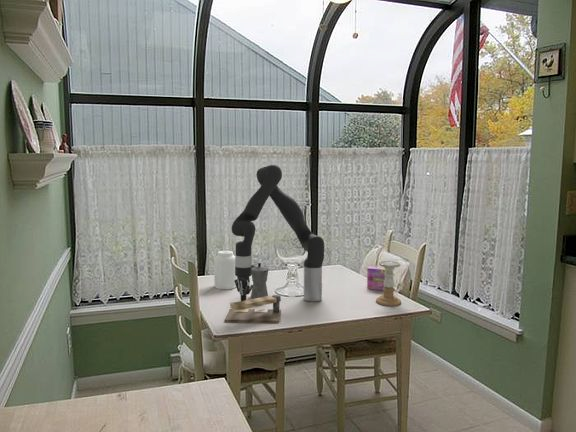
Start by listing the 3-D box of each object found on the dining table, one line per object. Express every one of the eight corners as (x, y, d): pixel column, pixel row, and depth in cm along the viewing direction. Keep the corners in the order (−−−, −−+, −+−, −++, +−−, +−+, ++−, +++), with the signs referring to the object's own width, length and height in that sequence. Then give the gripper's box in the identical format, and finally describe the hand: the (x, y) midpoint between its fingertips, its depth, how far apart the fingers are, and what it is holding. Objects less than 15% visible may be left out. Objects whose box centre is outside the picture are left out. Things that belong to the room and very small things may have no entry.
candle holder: (382, 307, 236) (384, 266, 233) (371, 299, 248) (372, 261, 245) (405, 305, 239) (407, 265, 237) (393, 298, 251) (395, 259, 248)
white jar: (237, 283, 276) (237, 249, 274) (236, 289, 264) (235, 253, 261) (215, 283, 276) (215, 249, 273) (213, 290, 263) (212, 253, 261)
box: (366, 288, 268) (367, 267, 266) (369, 286, 273) (369, 265, 271) (385, 290, 264) (386, 269, 262) (387, 288, 269) (388, 267, 268)
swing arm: (276, 298, 227) (276, 294, 227) (282, 301, 223) (282, 296, 223) (230, 307, 213) (230, 303, 213) (235, 310, 209) (235, 306, 209)
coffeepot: (274, 298, 248) (274, 264, 246) (258, 301, 243) (257, 266, 241) (258, 291, 261) (258, 258, 259) (243, 294, 256) (243, 260, 254)
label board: (280, 312, 228) (280, 299, 227) (279, 323, 213) (279, 309, 212) (230, 311, 229) (229, 298, 228) (224, 322, 214) (224, 308, 213)
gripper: (258, 267, 213) (258, 305, 216) (243, 261, 224) (243, 297, 226) (243, 269, 209) (243, 308, 211) (228, 263, 220) (229, 300, 222)
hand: (243, 302), depth 219 cm, fingers closed
